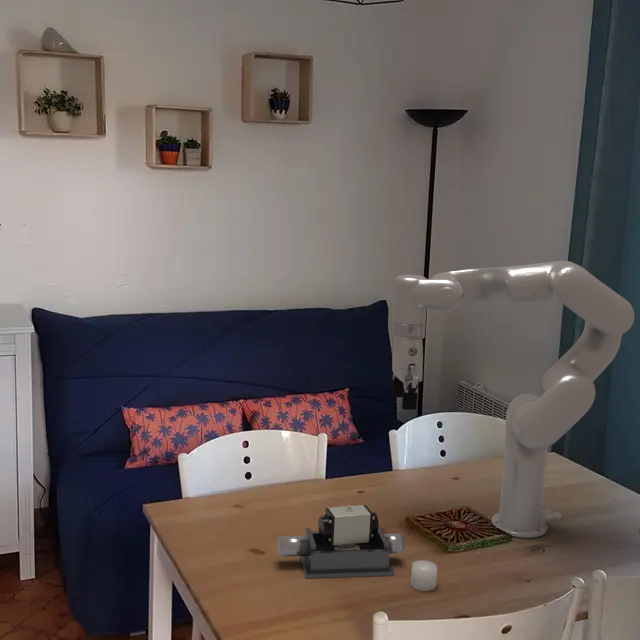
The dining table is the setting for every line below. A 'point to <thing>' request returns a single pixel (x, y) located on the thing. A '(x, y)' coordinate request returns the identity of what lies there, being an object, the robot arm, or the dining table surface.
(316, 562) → the pipe bracket
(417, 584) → the end cap
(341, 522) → the pneumatic valve
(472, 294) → the robot arm
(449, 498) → the dining table surface
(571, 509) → the dining table surface
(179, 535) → the dining table surface
